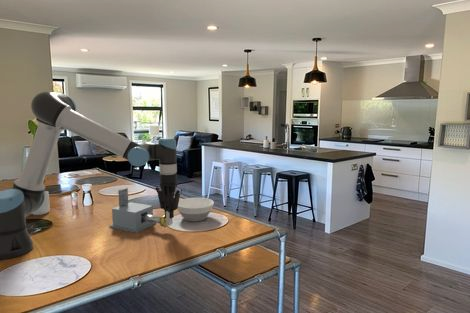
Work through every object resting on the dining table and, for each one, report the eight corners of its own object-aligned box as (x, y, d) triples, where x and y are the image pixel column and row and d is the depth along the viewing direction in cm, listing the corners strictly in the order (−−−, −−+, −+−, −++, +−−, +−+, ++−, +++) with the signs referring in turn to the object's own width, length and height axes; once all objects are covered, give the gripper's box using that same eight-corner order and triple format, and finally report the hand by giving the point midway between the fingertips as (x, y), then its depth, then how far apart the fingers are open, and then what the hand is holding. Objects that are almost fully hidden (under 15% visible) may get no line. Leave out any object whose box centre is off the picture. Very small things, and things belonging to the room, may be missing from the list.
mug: (49, 214, 176) (47, 193, 175) (29, 216, 173) (28, 195, 171) (51, 208, 187) (49, 188, 186) (32, 210, 184) (30, 190, 182)
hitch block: (156, 223, 163) (155, 205, 162) (136, 232, 151) (135, 213, 149) (130, 218, 170) (130, 201, 169) (109, 227, 158) (108, 208, 156)
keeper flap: (127, 188, 162) (126, 187, 163) (120, 190, 158) (118, 190, 158) (128, 204, 163) (126, 203, 164) (120, 206, 159) (119, 206, 159)
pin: (169, 225, 154) (169, 214, 153) (162, 228, 149) (162, 217, 149) (139, 219, 162) (139, 209, 161) (132, 222, 157) (131, 212, 156)
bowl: (177, 226, 160) (177, 209, 158) (174, 214, 178) (173, 198, 177) (217, 222, 165) (217, 206, 164) (210, 211, 183) (209, 196, 182)
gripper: (185, 173, 148) (186, 224, 151) (161, 170, 154) (163, 220, 157) (175, 175, 141) (176, 229, 145) (150, 173, 147) (152, 225, 150)
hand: (169, 224), depth 151 cm, fingers closed
